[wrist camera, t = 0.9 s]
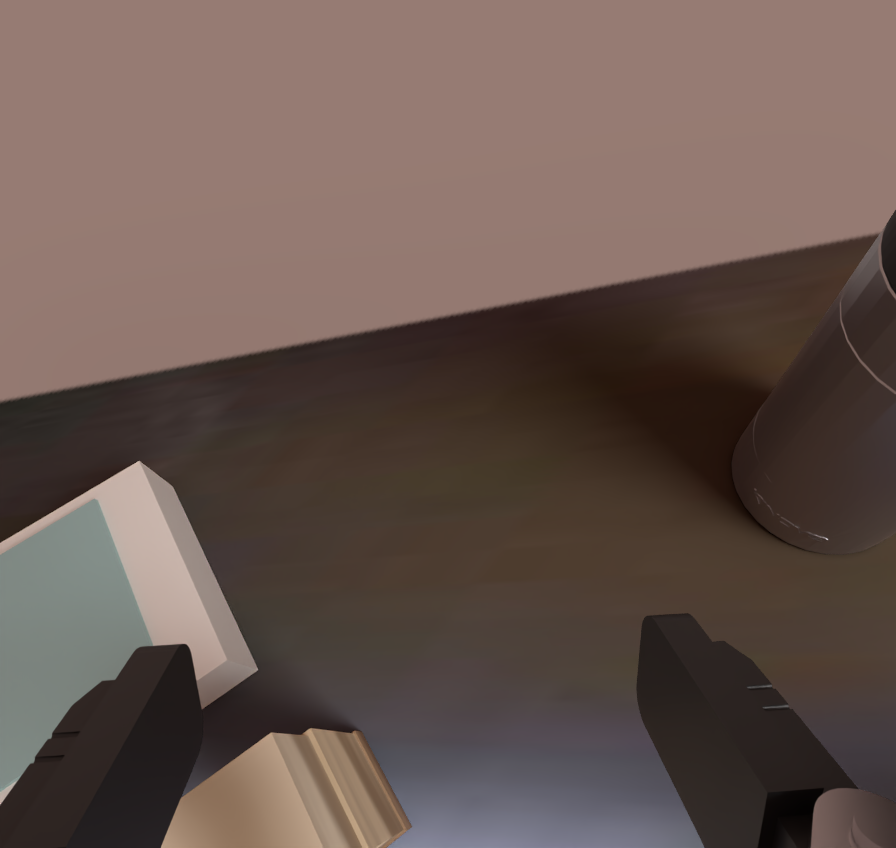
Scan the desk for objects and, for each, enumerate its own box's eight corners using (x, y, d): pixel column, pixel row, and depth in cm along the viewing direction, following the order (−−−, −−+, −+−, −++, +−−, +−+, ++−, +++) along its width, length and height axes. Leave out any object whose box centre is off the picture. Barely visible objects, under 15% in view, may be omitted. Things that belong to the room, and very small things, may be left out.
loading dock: (172, 486, 39) (136, 458, 36) (258, 669, 33) (224, 659, 29) (-96, 650, 36) (-168, 638, 32) (-60, 891, 29) (-143, 911, 26)
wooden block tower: (361, 731, 31) (275, 718, 20) (411, 826, 29) (344, 870, 18) (278, 794, 30) (140, 816, 19) (323, 898, 28) (195, 989, 17)
